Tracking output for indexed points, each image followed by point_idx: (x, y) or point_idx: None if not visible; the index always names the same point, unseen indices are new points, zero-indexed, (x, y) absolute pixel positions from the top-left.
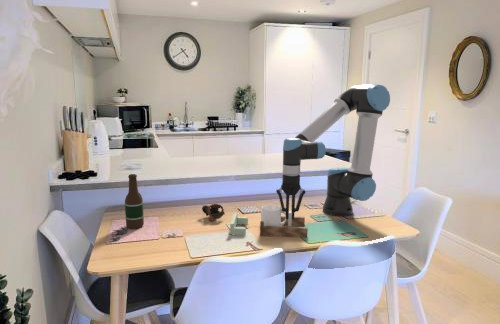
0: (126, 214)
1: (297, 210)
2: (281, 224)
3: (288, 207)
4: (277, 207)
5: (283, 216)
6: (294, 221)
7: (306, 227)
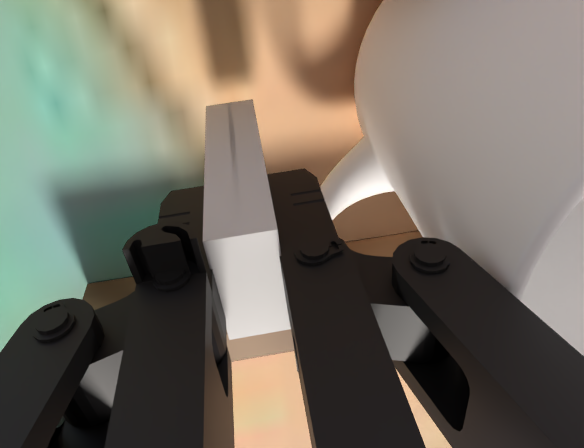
0: None
1: (49, 316)
2: (354, 154)
3: (309, 337)
4: None
5: None
6: None
7: None
